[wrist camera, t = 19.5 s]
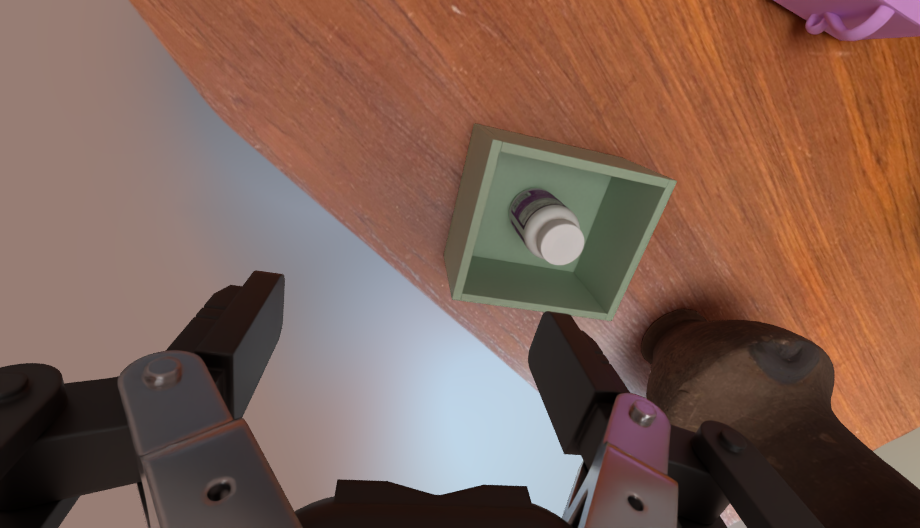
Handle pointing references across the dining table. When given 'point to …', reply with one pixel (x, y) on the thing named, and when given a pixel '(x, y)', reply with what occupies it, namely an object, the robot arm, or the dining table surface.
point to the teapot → (858, 17)
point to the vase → (775, 413)
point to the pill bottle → (546, 226)
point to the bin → (582, 191)
